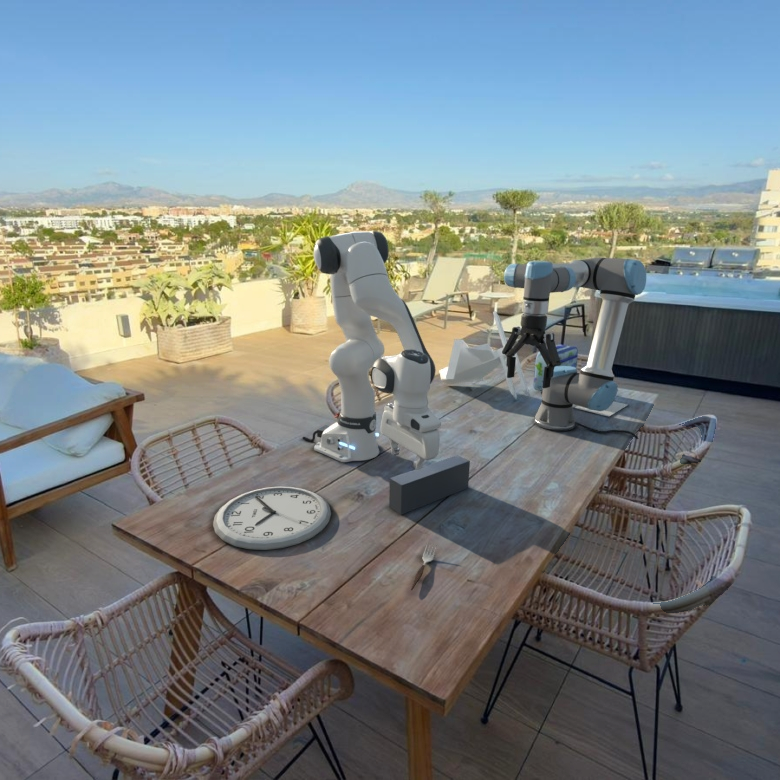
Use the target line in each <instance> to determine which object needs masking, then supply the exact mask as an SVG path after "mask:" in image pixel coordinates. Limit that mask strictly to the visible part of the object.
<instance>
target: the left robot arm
mask: <svg viewBox="0 0 780 780" xmlns="http://www.w3.org/2000/svg"><path fill="white" fill-rule="evenodd" d="M389 251H390V250H389V242H388V239H387V238H386V236H385V235H384V234H383V233H382V232H381V231H377V230H369V231H349V232H346V233H340V234H336V235H335V234H334V235H331V236H328V235H327V236H324V237H320V238H319V239H317V240H316V241H315V243H314V246H313V260H314V264H315V265H316V267H317V269H318V271H320V272H321V273H322V274H326V275H330V279H329V280H330V281H329V282H330V293H331V300H332V308H333V314H334V320H335V321H334V322H335V324H337V326H339V327H340V329H341V330H342V333H343V335H344V339H345V342H343V343H340V344H339V345H338V346H336V348H335V349H334V350H333V351H332V352H331V354H330V355H329V358H328V365H329V368H330V371H331V372H332V373H333V374H334V376H335V377H336V378H337V381H338V384H339V389H340V402H341V403H340V409H341V410H340V411H338V413H335V414H334V419H336V418H337V419H336V421H335V422H334V423H332V424H331V425H324V426H321V427H319V428H318V429H316V430H315V431H313V433H312V438H308V437H306V436H302V440H305V441H307V442H309V443H311V442H314V441H316V436H317V438H320V441H318V442H316V444H315V445H314V447H313V451H315V452H318V453H320V454H322V455H325V456H327V457H329V458H332V460H333V459H334V460H336V461H338V462H340V463H349V462H361V461H368V460H371V459H373V458H376V457H377V456H378V455H380V449H379V446H378V441H377V437H379V435H380V433H381V435H383V436H384V437H385V438H388V443H389V446H390V454H391V455H393V456H394V457H396V456H399V455H400V448H399V446H401V447H403V448H405V449H406V450H408V451H409V452H411V453H413V454H415V455H416V459H417V460H415V461H413V466H412V468H414V470H415V469H417V470H419V469H421V468H422V467H423V463H424V462H425V461H429V460H433V459H435V458H437V457H438V455H439V451H440V443H441V441H440V439H441V437H440V431H439V430H438V429H440V428H441V425H442V421H441V420H440V419H439V418H438V416H436V414H435V413H434V412H433V411H432V410H431V409H430V407H429V400H428V399H429V398H428V394H429V392H430V389H431V384H432V383H433V381H434V379H435V376H436V370H437V369H436V364H435V362H434V360H433V358H432V356H431V355H430V353H429V351H428V350H427V348H426V346H425V344H424V341H423V339H422V337H421V334H420V332H419V329H418V326H417V325H416V322H415V320H414V318H413V315H412V312H411V311H410V308H409V306H408V304H407V303H406V301H405V300H404V299H402V298H401V297H400V296H399V295H398V293H397V292H396V291H395V289H394V287H393V285H392V283H391V281H390V277H389V274H388V271H387V268H386V267H387V266H386V265H385V263H386V262H387V261H388V259H389V255H390V254H389V253H390V252H389ZM372 317H373V318H377V319H379V320H382V321H384V322H386V323H388V324H389V325H391V326H392V327H393V328H394V329H395V331H396V333H397V336H398V339H399V341H400V343H401V347H402V348H403V350H402V351H400V352H399V353H398V354H395V355H388V356H384V355H385V345H384V343H383V341H382V340H381V339H380V338H379V337H378V334H377V332H376V329H375V326H374V323H373V320H372ZM370 369H371V370H370ZM371 383H372V384H371ZM372 385H373V386H374V387H375V388H376V389H377V390H378V391H379V392H381V393H384V394H390V395H393V396H394V400H393V403H392V402H388V403H386V404H385V405H384V410H383V411H382V415H381V419H380V428H379V430H380V433H379V432H376V428H377V412H376V390H375V388H374V387H373V386H372ZM398 445H399V446H398Z"/></svg>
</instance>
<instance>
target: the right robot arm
mask: <svg viewBox="0 0 780 780" xmlns="http://www.w3.org/2000/svg"><path fill="white" fill-rule="evenodd" d="M503 281H504V283H505V285H506V286H508V287H510V288H514V289H516V288H517V289H523V297H522V305H521V306H522V307H521V312H522V313H523V314H522V315H521V318H520V319H521V320H520V326H521V327H520V326H513V327H512V329H511V334H510V336H509V338H508V340H507V343H506V345H505V347H504V349H503V351H502V354H505V355H506V356H507V363H506V366H507V367H508V371H507V378H515V373H516V366H515V362H516V357H513V356H515V354H516V353H517V354H518V352H519V351H520V350H521V349H522V348H523V347H524V346H525V345H527V346H528V345H530V346H532V347H535V348H536V349H537V350H538V353H539V352H540V353H541V355H542V357H543V359H544V361H545V363H546V365H547V367H545V368H544V377H543V386H542V388H543V391H541V392H542V394H541V402H540V405H539V407H538V410H537V411H536V413H535V416H534V424H535V425H536V426H537V427H539V428H542V429H544V430H549V431H556V432H567V431H572V430H574V429H575V428H576V425H577V426H580V427H582V428H583V429H586V430H589V431H592V432H595V433H599V434H611V433H620V434H621V433H622V434H628V435H631V436H632V437H634V439H636V440H639V437H638V435H637V434H636V433H634V432H633V431H630V430H623V429H609V430H600V429H595V428H593V427H591V426H587V425H586V424H582V423H580V422H577V421H576V418H575V417H576V416H575V413H574V407H573V405H574V406H581V407H585V408H588V409H589V410H596V411H604V410H606V409H607V408H609V406H611V404H612V403H613V401H614V402H615V399H616V397H617V395H618V391H619V388H618V387H619V386H618V383H617V382H615V381H614V379H615V374H614V373H613V372H612V370H613V365H614V361H615V357H616V353H617V349H618V346H619V342H620V338H621V334H622V331H623V327H624V323H625V320H626V315H627V312H628V311H627V310H628V308H629V304H631V303H633V302H634V301H635V298H636V296H638V295H641V294H642V293H643V292H644V290H645V288H646V284H647V269H646V266H645V264H644V263H643V262H642V261H641V260H638V259H632V258H620V257H619V258H617V257H616V258H615V257H592V258H583V259H575V260H571V261H570V262H559V263H558V262H557V263H553V262H551V261H548V260H547V261H546V260H545V261H544V260H531V261H528V262H526V264H524V263H510V264H508V265H507V266H506V268H505V270H504V273H503ZM573 288H584V289H589V290H594V291H600V292H599V296H600V298H601V300H602V302H601V306H600V309H599V313H598V317H597V321H596V325H595V329H594V333H593V336H592V337H593V338H592V341H591V345H590V350H589V353H588V357H587V361H586V365H585V366H583V367H582V368H580V371H578V368H577V367H576V368H575V367H572V366H560V365H561V362H560V358H559V355H558V352H557V348H556V345H557V344H556V342H555V333H554V332H550V333H547V332H546V328H547V324H548V316H547V315H548V314H549V306H550V294H553V293H564V292H568V291H570V290H572V289H573ZM519 336H520V338H519ZM518 338H519V339H518ZM513 346H514V347H513ZM512 347H513V348H512ZM547 348H548V349H547ZM578 372H579V373H578Z"/></svg>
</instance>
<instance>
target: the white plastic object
mask: <svg viewBox="0 0 780 780" xmlns="http://www.w3.org/2000/svg"><path fill="white" fill-rule="evenodd" d="M492 315H493V319H494V321H495V324H496V325H495V326H496V328H497V332H498V335H499V338H500V342H501V345H502V347H500V348H498V349H496V350H495V349H493V348H492V347H491V346H490V344H489V343H488V342H487V343H483V344H479V345H473V346H469V345H468V343H466V342H465V340H464V339H463V338H460V339H458V338H454V340H453V344H452V349H451V353H450V357H449V362H448V366H446V367H444V368H442V369H440V370H439V371H438V372H439V376H440V381H442V383H443V384H444V385H445V386H449V385H458V384H467V383H468V384H469V383H473V384H477V383H480V382H482V381H484V378H485V377H486V376H487V375H489V374H490V373H492V372H494V371H495V370H496V369H497V368H499V367H500V366H502V370H503V373H504V376H505V380H506V383H507V386H508V390H509V393H510V394H511V395H512V397H513V398H514V399H515V400H517V392H516V391H517V390H516V388H515V385H514V381H513V377H511V378H507V371H508V367H507V366H506V363H507V356H506V355H505V354H502V351H503V349H504V347H505V345H506V343H507V341H508V340H507V337H506V334H505V331H504V328H503V325H502V321H501V318H500V315H499V314H498V312H497V311H496V310H495V311H492ZM513 347H514V345H513ZM513 347H512V348H513ZM513 357H516V362H515V370H516V372H517V376H518V380H519V382H520V385H521V389H522V391H523V393H524V395H525V396H526V397H528V396H531V395H530V390H529V388H528V387H529V386H528V384H527V381H526V378H525V375H524V371H523V369H522V368H523V367H522V366H521V362H520V359H519V355H518V352H517V353H516V354H515V356H513Z"/></svg>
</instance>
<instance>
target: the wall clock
mask: <svg viewBox="0 0 780 780" xmlns="http://www.w3.org/2000/svg"><path fill="white" fill-rule="evenodd" d="M331 516H332V512H331V507H330V504H329V503H328V502H327V500H326V499H325V498H323V497H322V496H320V495H319V494H317V493H316V492H313V491H310V490H308V489H305V488H300V487H293V486H271V487H263V488H259V489H253V490H251V491H247V492H244V493H242V494H239V495H238V496H235V497H234V498H232V499H230V500H228V501H227V502H226V503H225V504H223V505H222V506H221V507H220V508H219V510H218V511H217V512H216V514H215V515H214V518H213V522H212V527H213V529H214V533H215V535H217V536H218V537H219V538H220V539H221V541H222V542H225V543H227V544H229V545H231V546H233V547H237V548H242V549H246V550H258V551H259V550H260V551H267V550H276V549H284V548H288V547H291V546H295V545H299V544H301V543H303V542H305V541H308V540H310V539H312V538H314V537H316V536H317V535H318V534H319V533H321V532H322V531H323V530H324V529H325V527H326V526H327V525H328V524H329V522H330V520H331Z"/></svg>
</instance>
